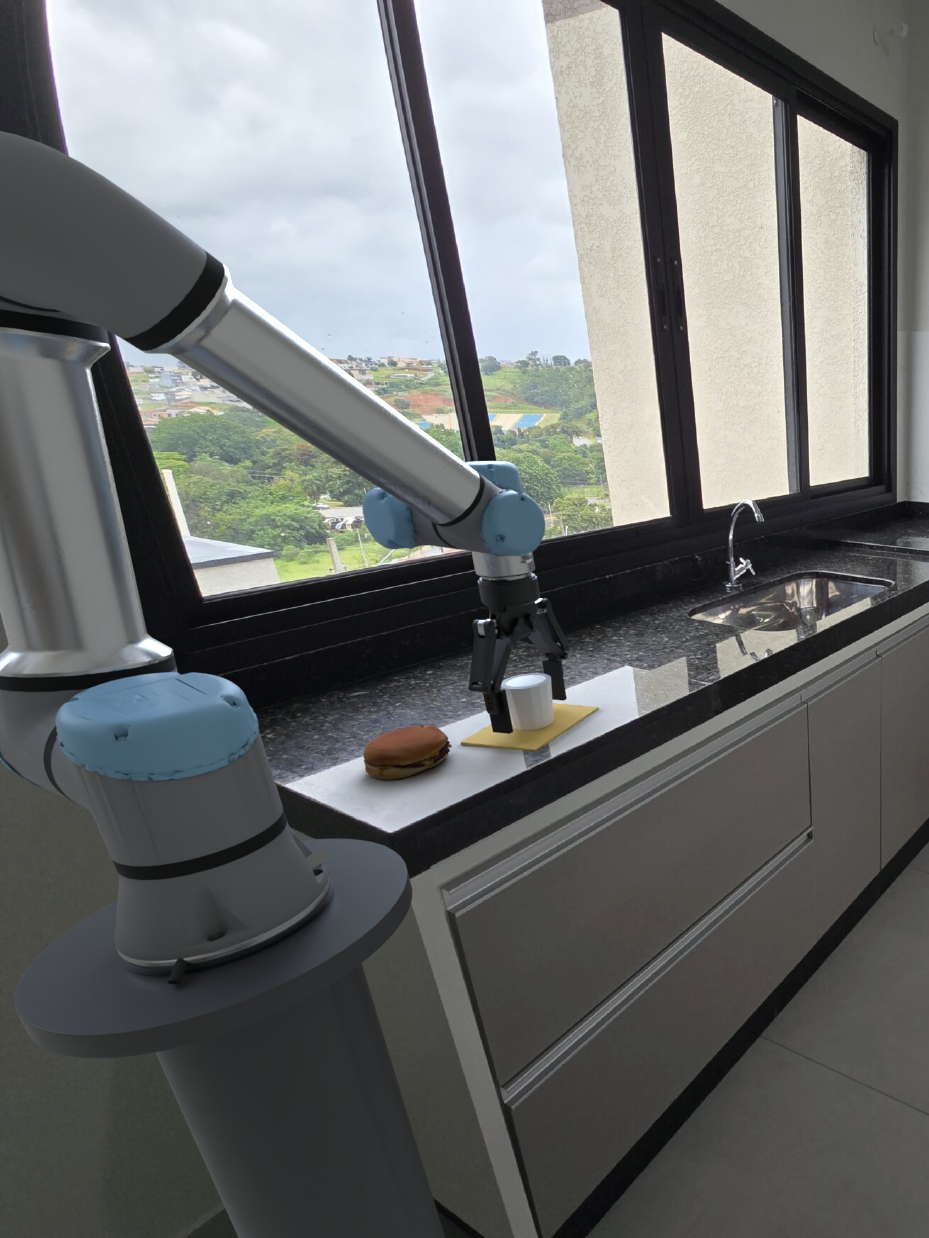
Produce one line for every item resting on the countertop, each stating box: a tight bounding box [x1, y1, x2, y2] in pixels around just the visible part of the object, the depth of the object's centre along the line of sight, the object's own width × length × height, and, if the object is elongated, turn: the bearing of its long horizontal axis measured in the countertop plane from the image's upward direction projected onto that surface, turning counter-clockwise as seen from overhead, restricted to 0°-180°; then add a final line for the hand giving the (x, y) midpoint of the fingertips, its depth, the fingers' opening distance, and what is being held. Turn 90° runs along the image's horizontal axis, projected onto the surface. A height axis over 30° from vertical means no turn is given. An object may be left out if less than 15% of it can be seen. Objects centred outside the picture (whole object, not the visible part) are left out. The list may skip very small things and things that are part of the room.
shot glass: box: [500, 672, 554, 731], centre depth 112 cm, size 7×7×7 cm
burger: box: [363, 724, 453, 781], centre depth 100 cm, size 10×9×5 cm
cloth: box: [459, 702, 600, 752], centre depth 113 cm, size 16×12×1 cm
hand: (531, 714), depth 113 cm, fingers open, 12 cm apart
